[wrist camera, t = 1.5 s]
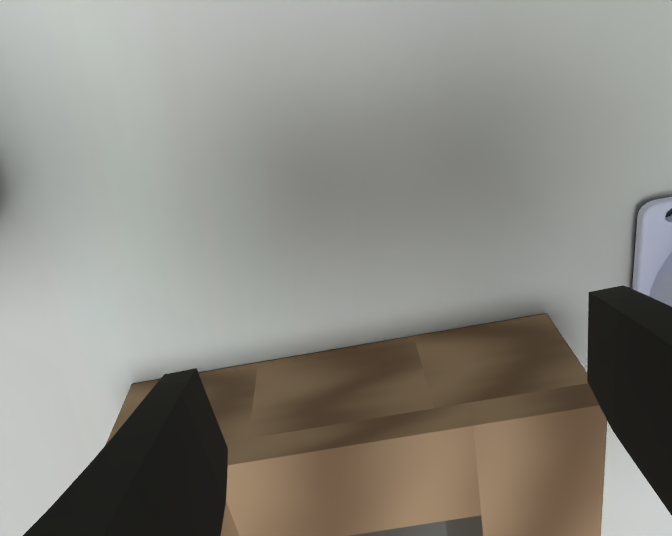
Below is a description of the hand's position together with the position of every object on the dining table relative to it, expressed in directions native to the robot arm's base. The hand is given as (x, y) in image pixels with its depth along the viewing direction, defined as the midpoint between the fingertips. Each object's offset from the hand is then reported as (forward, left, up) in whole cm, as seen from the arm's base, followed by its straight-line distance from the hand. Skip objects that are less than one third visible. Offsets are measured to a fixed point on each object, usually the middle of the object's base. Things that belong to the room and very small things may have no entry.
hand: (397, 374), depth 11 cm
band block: (+2, +14, -9) cm, 17 cm away
